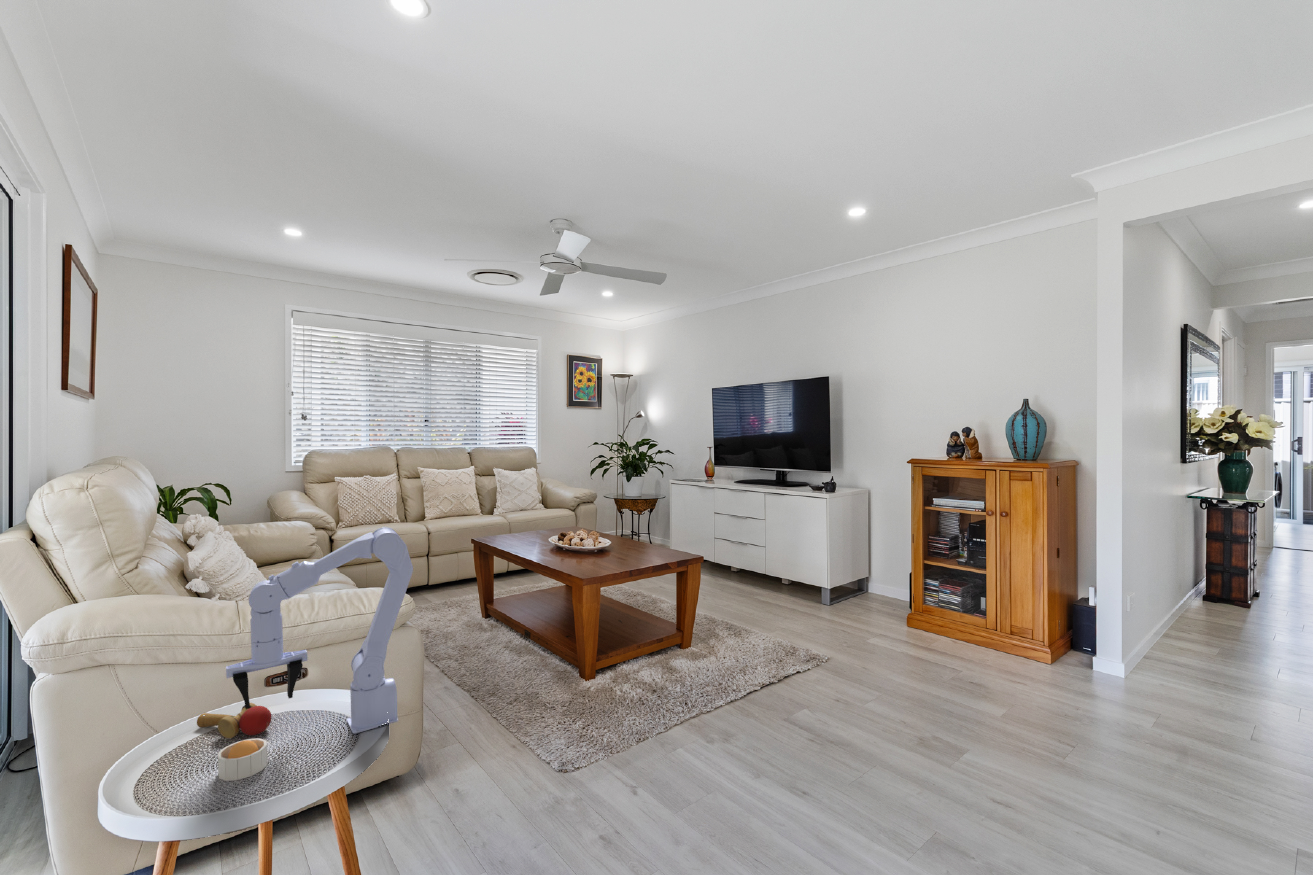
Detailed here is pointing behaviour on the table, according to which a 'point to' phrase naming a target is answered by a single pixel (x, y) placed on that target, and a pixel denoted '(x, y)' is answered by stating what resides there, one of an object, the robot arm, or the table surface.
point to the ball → (242, 749)
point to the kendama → (238, 721)
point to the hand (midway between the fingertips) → (269, 701)
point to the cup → (242, 762)
